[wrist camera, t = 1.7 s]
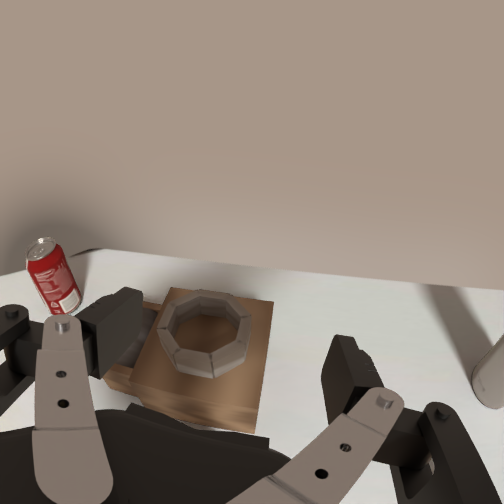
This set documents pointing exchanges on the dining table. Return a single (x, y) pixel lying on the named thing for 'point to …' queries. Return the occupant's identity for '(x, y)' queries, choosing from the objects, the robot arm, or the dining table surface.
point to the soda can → (52, 276)
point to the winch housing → (199, 358)
